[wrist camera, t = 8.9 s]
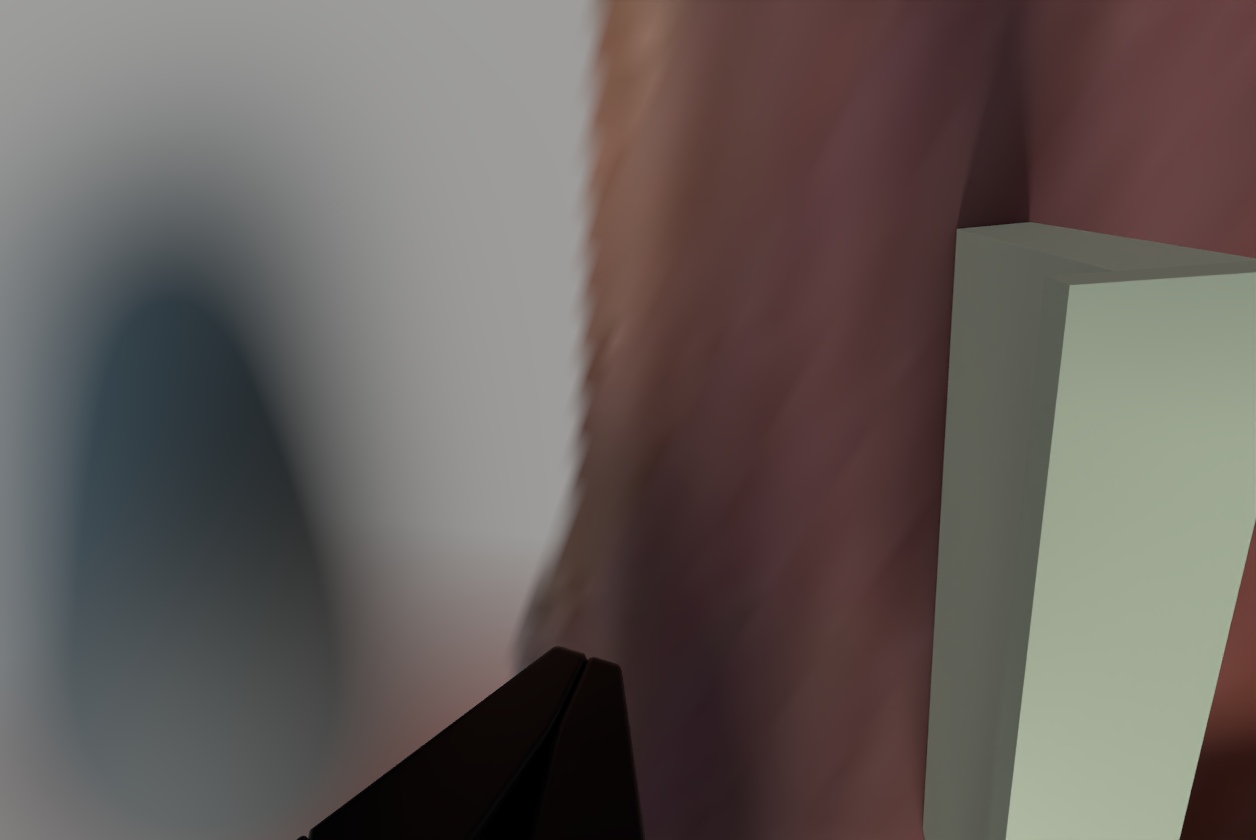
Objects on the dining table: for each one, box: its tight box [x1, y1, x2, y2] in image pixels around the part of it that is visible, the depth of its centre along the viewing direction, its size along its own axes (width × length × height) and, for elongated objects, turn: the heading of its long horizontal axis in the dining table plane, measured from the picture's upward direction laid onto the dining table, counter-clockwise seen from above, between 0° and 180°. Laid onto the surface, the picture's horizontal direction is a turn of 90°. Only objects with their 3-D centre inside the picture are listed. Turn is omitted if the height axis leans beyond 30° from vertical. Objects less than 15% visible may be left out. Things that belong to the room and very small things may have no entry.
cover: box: [923, 222, 1256, 840], centre depth 11 cm, size 15×2×7 cm, turn 7°
